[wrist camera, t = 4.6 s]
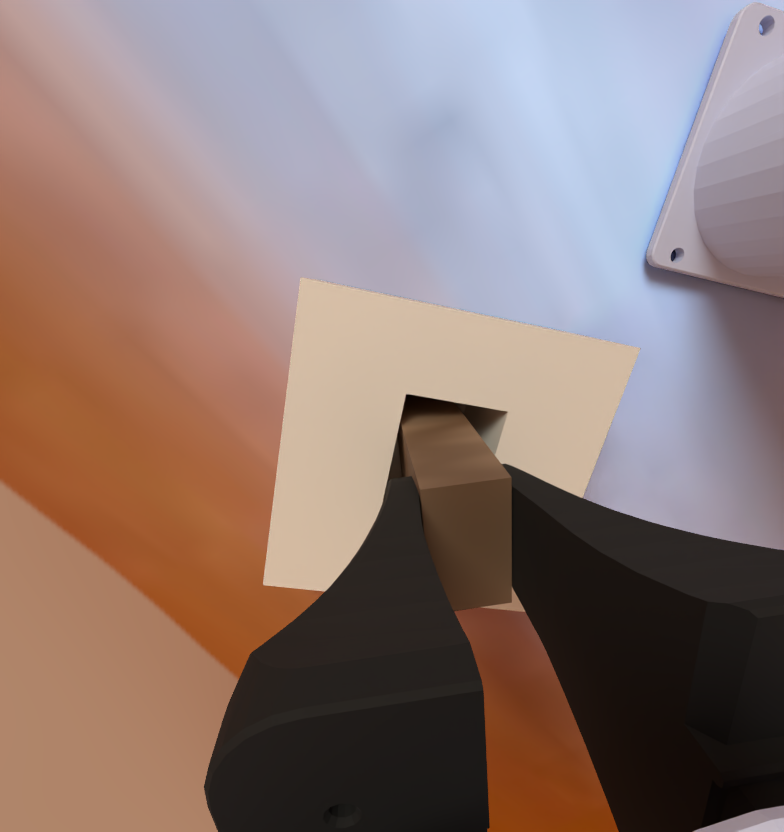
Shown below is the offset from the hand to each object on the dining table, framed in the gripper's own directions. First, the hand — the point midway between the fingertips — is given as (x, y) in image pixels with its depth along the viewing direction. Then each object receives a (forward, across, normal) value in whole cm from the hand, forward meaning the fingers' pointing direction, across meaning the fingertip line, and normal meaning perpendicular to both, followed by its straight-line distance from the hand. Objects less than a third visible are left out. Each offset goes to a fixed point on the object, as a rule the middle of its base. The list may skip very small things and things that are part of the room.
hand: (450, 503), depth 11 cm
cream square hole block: (+6, 0, 0) cm, 6 cm away
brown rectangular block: (+5, 0, 0) cm, 5 cm away
